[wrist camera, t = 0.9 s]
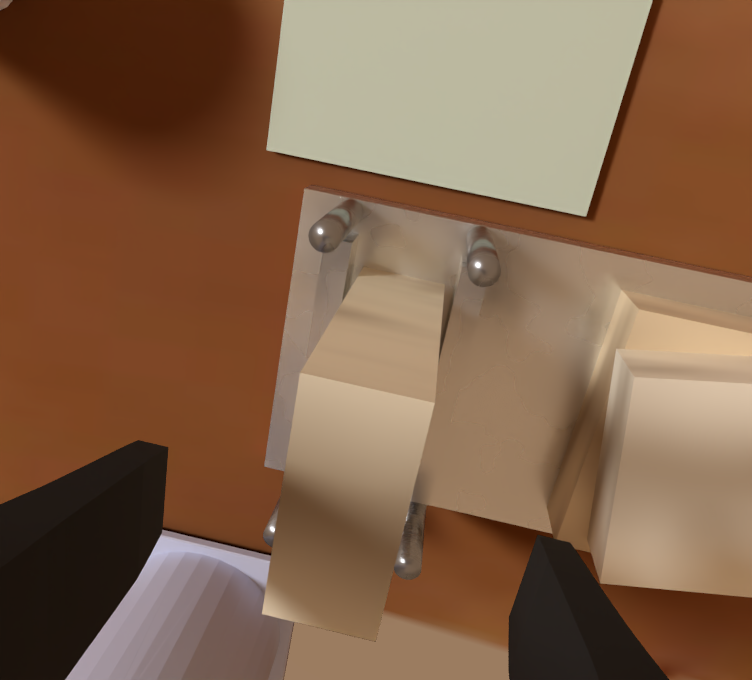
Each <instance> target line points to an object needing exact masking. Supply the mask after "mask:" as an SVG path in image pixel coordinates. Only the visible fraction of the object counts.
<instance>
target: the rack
mask: <svg viewBox="0 0 752 680" xmlns="http://www.w3.org/2000/svg"><path fill="white" fill-rule="evenodd" d="M363 267H367V268H371V269H376V270H381V271H385V272H390V273H395V274H399V275H404V276H408V277H413V278H418V279H422V280H427V281H432V282H436V283H441V284H445V289H444V301H443V313H442V325H441V336H440V348H439V360H438V372H437V384H436V396H435V405H434V409H433V413H432V417H431V421H430V425H429V429H428V433H427V437H426V441H425V445H424V449H423V453H422V457H421V461H420V465H419V469H418V473H417V477H416V481H415V485H414V489H413V493H412V497H411V501H410V505H409V509H408V513H407V518H406V522H405V526H404V530H403V534H402V538H401V542H400V546H399V550H398V554H397V558H396V562H395V566H394V570H395V573H396V574H397V575H398V576H399V577H401V578H403V579H407V580H410V579H414V578H416V577H418V576H419V575H420V573H421V565H422V553H423V541H424V529H425V517H426V505H432V506H436V507H440V508H444V509H449V510H453V511H457V512H462V513H466V514H470V515H474V516H479V517H483V518H487V519H491V520H496V521H500V522H504V523H509V524H513V525H517V526H521V527H526V528H530V529H534V530H539V531H543V532H547V533H551V534H553V533H552V529H551V524H550V520H549V515H548V510H547V505H548V502H549V500H550V497H551V494H552V491H553V488H554V485H555V482H556V479H557V476H558V473H559V470H560V467H561V465H562V462H563V459H564V456H565V453H566V450H567V447H568V444H569V441H570V438H571V435H572V432H573V430H574V427H575V424H576V421H577V418H578V415H579V412H580V409H581V406H582V403H583V400H584V397H585V395H586V392H587V389H588V386H589V383H590V380H591V377H592V374H593V371H594V368H595V365H596V362H597V360H598V357H599V354H600V351H601V348H602V345H603V342H604V339H605V336H606V333H607V330H608V327H609V325H610V322H611V319H612V316H613V313H614V310H615V307H616V304H617V301H618V298H619V295H620V292H621V290H626V291H630V292H635V293H640V294H644V295H649V296H654V297H659V298H663V299H668V300H673V301H677V302H682V303H687V304H691V305H696V306H701V307H705V308H710V309H715V310H719V311H724V312H729V313H733V314H738V315H743V316H747V317H752V277H748V276H743V275H738V274H733V273H729V272H724V271H719V270H714V269H710V268H705V267H700V266H695V265H691V264H686V263H681V262H676V261H672V260H667V259H662V258H657V257H653V256H648V255H643V254H638V253H634V252H629V251H624V250H619V249H615V248H610V247H605V246H600V245H596V244H591V243H586V242H581V241H577V240H572V239H567V238H562V237H558V236H553V235H548V234H543V233H539V232H534V231H529V230H524V229H520V228H515V227H510V226H505V225H501V224H496V223H491V222H486V221H482V220H477V219H472V218H467V217H463V216H458V215H453V214H449V213H444V212H439V211H434V210H430V209H425V208H420V207H415V206H411V205H406V204H401V203H396V202H392V201H387V200H382V199H377V198H373V197H368V196H363V195H358V194H354V193H349V192H344V191H339V190H335V189H330V188H325V187H320V186H316V185H310V186H308V187H306V188H304V195H303V202H302V209H301V216H300V223H299V230H298V237H297V244H296V251H295V258H294V265H293V272H292V278H291V285H290V292H289V299H288V306H287V313H286V320H285V327H284V334H283V341H282V348H281V355H280V361H279V368H278V375H277V382H276V389H275V396H274V403H273V410H272V417H271V424H270V431H269V438H268V445H267V451H266V458H265V465H264V466H265V467H269V468H273V469H278V470H282V471H285V465H286V458H287V452H288V446H289V439H290V433H291V427H292V420H293V414H294V408H295V401H296V395H297V389H298V383H299V376H300V372H301V370H302V369H303V367H304V365H305V364H306V362H307V360H308V359H309V357H310V355H311V354H312V352H313V350H314V349H315V347H316V345H317V344H318V342H319V340H320V339H321V337H322V335H323V333H324V332H325V330H326V328H327V327H328V325H329V323H330V322H331V320H332V318H333V317H334V315H335V313H336V312H337V310H338V308H339V307H340V305H341V303H342V302H343V300H344V298H345V297H346V295H347V293H348V292H349V290H350V288H351V287H352V285H353V283H354V282H355V280H356V278H357V277H358V275H359V273H360V272H361V270H362V268H363ZM279 502H280V498H279V500H278V502H277V505H276V507H275V509H274V511H273V513H272V515H271V518H270V520H269V522H268V524H267V526H266V529H265V531H264V533H263V538H264V540H265V542H266V543H267V544H268V545H269V546H271V547H273V540H274V534H275V528H276V521H277V515H278V509H279Z"/></svg>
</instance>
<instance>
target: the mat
mask: <svg viewBox="0 0 752 680" xmlns="http://www.w3.org/2000/svg"><path fill="white" fill-rule="evenodd" d="M652 1H653V0H284V8H283V17H282V25H281V33H280V42H279V50H278V58H277V67H276V75H275V83H274V92H273V100H272V108H271V116H270V125H269V133H268V141H267V150H269V151H273V152H278V153H283V154H288V155H293V156H297V157H302V158H307V159H312V160H317V161H321V162H326V163H331V164H336V165H340V166H345V167H350V168H355V169H360V170H364V171H369V172H374V173H379V174H384V175H388V176H393V177H398V178H403V179H408V180H412V181H417V182H422V183H427V184H432V185H436V186H441V187H446V188H451V189H455V190H460V191H465V192H470V193H475V194H479V195H484V196H489V197H494V198H499V199H503V200H508V201H513V202H518V203H523V204H527V205H532V206H537V207H542V208H547V209H551V210H556V211H561V212H566V213H570V214H575V215H580V216H585V217H586V215H587V212H588V209H589V205H590V202H591V199H592V196H593V192H594V189H595V186H596V183H597V179H598V176H599V173H600V170H601V166H602V163H603V160H604V157H605V153H606V150H607V147H608V144H609V140H610V137H611V134H612V131H613V127H614V124H615V121H616V118H617V115H618V111H619V108H620V105H621V102H622V98H623V95H624V92H625V89H626V85H627V82H628V79H629V76H630V72H631V69H632V66H633V63H634V59H635V56H636V53H637V50H638V46H639V43H640V40H641V37H642V33H643V30H644V27H645V24H646V20H647V17H648V14H649V11H650V7H651V4H652Z"/></svg>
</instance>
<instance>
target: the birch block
mask: <svg viewBox="0 0 752 680" xmlns="http://www.w3.org/2000/svg"><path fill="white" fill-rule="evenodd" d="M444 289H445V284H441V283H436V282H432V281H427V280H422V279H418V278H413V277H408V276H404V275H399V274H395V273H390V272H385V271H381V270H376V269H371V268H367V267H363V268H362V270H361V272H360V273H359V275H358V277H357V278H356V280H355V282H354V283H353V285H352V287H351V288H350V290H349V292H348V293H347V295H346V297H345V298H344V300H343V302H342V303H341V305H340V307H339V308H338V310H337V312H336V313H335V315H334V317H333V318H332V320H331V322H330V323H329V325H328V327H327V328H326V330H325V332H324V333H323V335H322V337H321V339H320V340H319V342H318V344H317V345H316V347H315V349H314V350H313V352H312V354H311V355H310V357H309V359H308V360H307V362H306V364H305V365H304V367H303V369H302V370H301V372H300V376H299V383H298V389H297V395H296V401H295V408H294V414H293V420H292V427H291V433H290V439H289V446H288V452H287V458H286V465H285V471H284V477H283V484H282V490H281V496H280V502H279V509H278V515H277V521H276V528H275V534H274V540H273V547H272V553H271V559H270V566H269V572H268V578H267V584H266V591H265V597H264V603H263V610H262V614H264V615H268V616H272V617H276V618H280V619H284V620H288V621H292V622H297V623H301V624H305V625H309V626H313V627H317V628H321V629H325V630H329V631H333V632H338V633H342V634H345V635H349V636H354V637H358V638H362V639H366V640H370V641H374V642H375V641H376V638H377V634H378V630H379V626H380V622H381V618H382V614H383V610H384V606H385V602H386V598H387V594H388V590H389V586H390V582H391V578H392V574H393V570H394V566H395V562H396V558H397V554H398V550H399V546H400V542H401V538H402V534H403V530H404V526H405V522H406V518H407V513H408V509H409V505H410V501H411V497H412V493H413V489H414V485H415V481H416V477H417V473H418V469H419V465H420V461H421V457H422V453H423V449H424V445H425V441H426V437H427V433H428V429H429V425H430V421H431V417H432V413H433V409H434V405H435V396H436V384H437V372H438V360H439V348H440V336H441V325H442V313H443V301H444Z"/></svg>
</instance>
